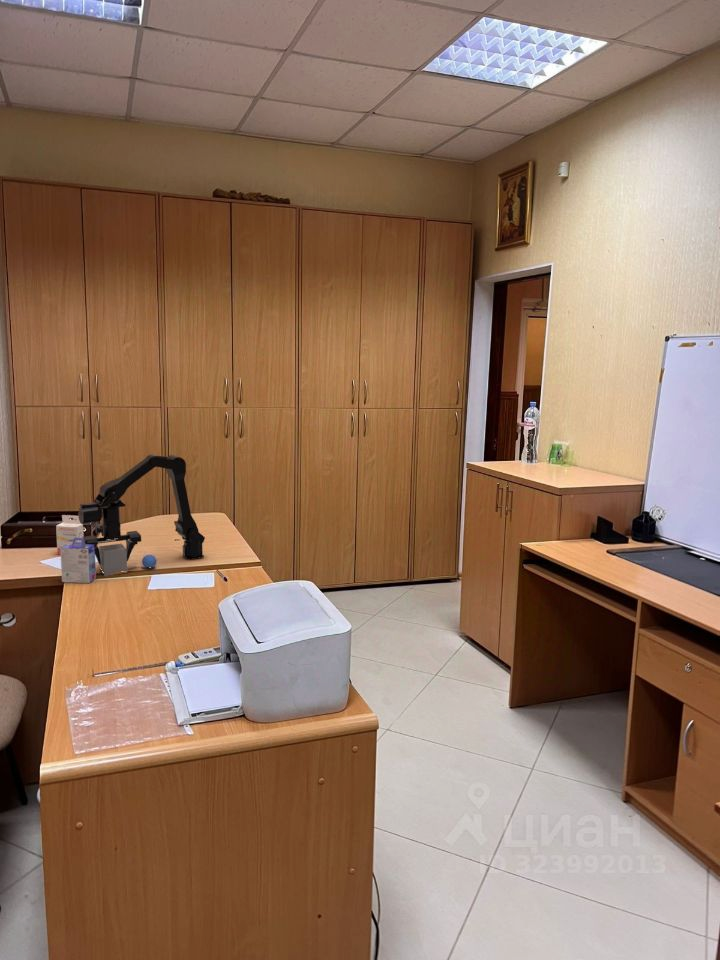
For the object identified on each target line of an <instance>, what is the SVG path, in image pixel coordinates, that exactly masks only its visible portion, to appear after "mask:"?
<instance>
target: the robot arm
mask: <svg viewBox="0 0 720 960" xmlns="http://www.w3.org/2000/svg"><path fill="white" fill-rule="evenodd" d="M154 468H161V469H165V470H166V473H167V476H168V477H169V478H170V480H171V485H172V490H173V494H174V498H175V505H176V511H177V514H178V516H177V517H178V518H177V520H175V521H173V523H174V526H175V529H174V531H175V532H177V534H178V535H179V536H180V537H181V539H182V540H184V541H183V545H182V556H183V557H184V558H185V557H186V558H187V559H190V560H193V559H192V558H197V559H200V558H199V557H204V558H205V556H204V555H203V544H204V542H205V539H206V538H205V536H204V535H203V534H202V533H200V532H199V528H198V525H197V523H196V521H195V519H194V518H193V516H192V513H191V507H190V502H189V498H188V497H189V495H188V491H187V486H186V481H185V478H186V474H187V463H186V460H185V459H184V458H182V457H181V456H177V455H174V454H170V455H168V456H164V455H156V454H155V455H154V454H149V455H147V456H146V457H145V458H143V459H142V460H141V461H139V463H137V464H136V465H134V466H133V467H131V468H130V469H129V470H128V471H126V472H125V473H123V474H122V475H121V476H119V477H118V478H114V479H112V480H109V481H107V482H105V483H104V484H102V485H101V486H100V488H99V492H98V494H97V495H96V497H95V498H94V499H93V502H91V503H81V504H79V510H78V513H77V514H78V515H77V516H79V521H80V523H81V524H83V525H84V524H93V523H95V524H94V525H95V526H94V528H95V529H94V530H95V534H101V536H102V537H96V536H95V535H88V536H84V544H94V546H95V559H96V560H97V563H98V565H99V566H100V565H101V559H100V553H99V546H98V545H99V544H105V543H113V542H121V541H125V543H126V545H125V546H126V547H125V548H126V551H127V562H129V559H130V558H131V557H130V556H131V553H132V551H133V550H134V547H135V546H136V545H138V543H140V542H142V535H141V533H140V532H139V531H137V530H131V531H126V533H125V534H121V532H122V531H121V527H122V526H121V514H120V513H121V512H120V510H121V509H120V508H123V507H126V504H125V503H124V502H123V501H122V500H121V498H122V497H123V496H124V495H125V494H126V492H127V490H128V489H129V488H130V487H131V486H132V485H133V484H134V483H136V482H137V481H139V480H140V479H141V478H143V477H144V476H145V475H146V474H148V473H149V472H150V471H152V470H153V469H154ZM101 520H102V524H101V523H99V522H100V521H101ZM97 523H98V524H97ZM186 558H185V559H186Z"/></svg>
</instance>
